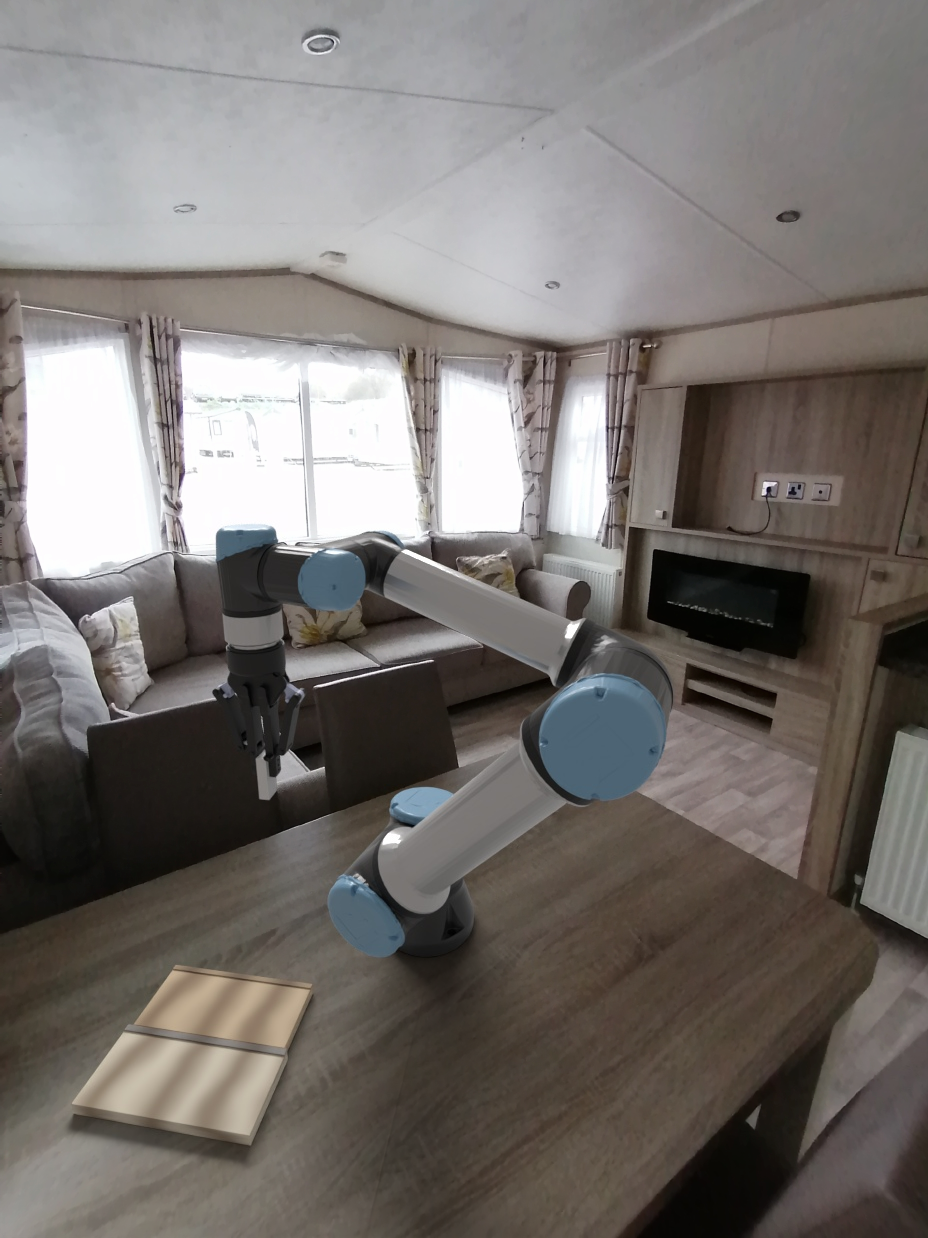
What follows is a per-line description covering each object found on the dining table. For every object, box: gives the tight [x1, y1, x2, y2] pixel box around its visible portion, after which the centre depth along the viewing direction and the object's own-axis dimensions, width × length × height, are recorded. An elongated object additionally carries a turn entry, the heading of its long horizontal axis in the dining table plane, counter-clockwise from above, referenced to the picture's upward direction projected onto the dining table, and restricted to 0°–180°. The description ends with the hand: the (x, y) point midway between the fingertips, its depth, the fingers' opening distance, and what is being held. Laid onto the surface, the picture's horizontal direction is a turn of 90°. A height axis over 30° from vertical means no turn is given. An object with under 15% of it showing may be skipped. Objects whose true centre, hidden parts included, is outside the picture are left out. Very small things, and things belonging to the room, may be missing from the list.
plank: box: [133, 964, 314, 1052], centre depth 84 cm, size 21×10×2 cm, turn 82°
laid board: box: [71, 1023, 289, 1146], centre depth 74 cm, size 22×10×2 cm, turn 82°
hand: (268, 794), depth 89 cm, fingers closed
